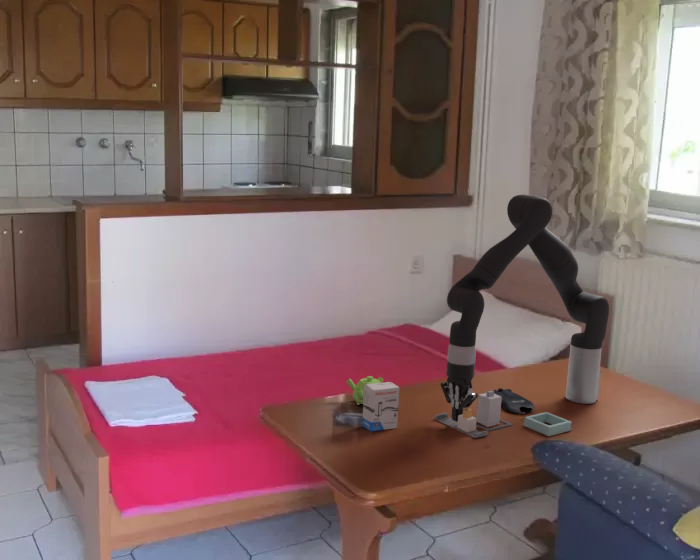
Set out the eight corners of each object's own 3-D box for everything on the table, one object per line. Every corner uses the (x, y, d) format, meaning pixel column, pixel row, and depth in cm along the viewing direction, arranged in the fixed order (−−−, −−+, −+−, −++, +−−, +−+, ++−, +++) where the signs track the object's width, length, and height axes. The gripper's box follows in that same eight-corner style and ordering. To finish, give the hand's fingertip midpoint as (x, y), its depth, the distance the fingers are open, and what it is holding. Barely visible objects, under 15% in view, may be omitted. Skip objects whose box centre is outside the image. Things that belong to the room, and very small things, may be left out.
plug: (487, 419, 230) (490, 388, 228) (499, 424, 226) (502, 392, 224) (476, 421, 227) (478, 390, 225) (487, 426, 223) (490, 395, 222)
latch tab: (465, 425, 222) (466, 406, 221) (475, 430, 219) (477, 411, 218) (457, 427, 221) (458, 408, 220) (467, 432, 218) (468, 412, 217)
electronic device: (484, 405, 247) (513, 414, 233) (486, 387, 247) (515, 395, 233) (510, 406, 251) (540, 415, 237) (512, 388, 251) (542, 397, 237)
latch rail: (446, 416, 230) (446, 412, 230) (487, 436, 217) (488, 431, 216) (434, 419, 227) (434, 414, 227) (475, 439, 214) (476, 434, 214)
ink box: (370, 432, 215) (372, 390, 213) (361, 426, 220) (363, 384, 217) (397, 428, 219) (400, 386, 217) (388, 422, 224) (391, 381, 221)
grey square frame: (488, 414, 233) (488, 413, 233) (512, 425, 225) (512, 424, 225) (463, 420, 228) (463, 419, 228) (487, 431, 220) (487, 430, 220)
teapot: (392, 410, 233) (394, 382, 232) (354, 411, 230) (355, 383, 229) (381, 397, 244) (382, 370, 242) (344, 399, 241) (345, 371, 239)
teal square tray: (545, 420, 231) (546, 411, 230) (570, 430, 224) (571, 421, 223) (523, 425, 226) (524, 417, 225) (548, 436, 218) (549, 427, 218)
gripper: (488, 364, 217) (483, 425, 220) (454, 352, 227) (450, 410, 231) (467, 368, 212) (463, 430, 216) (434, 355, 223) (430, 415, 226)
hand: (456, 420), depth 223 cm, fingers closed
